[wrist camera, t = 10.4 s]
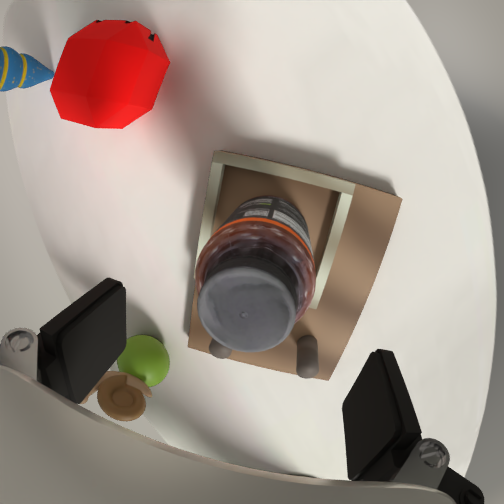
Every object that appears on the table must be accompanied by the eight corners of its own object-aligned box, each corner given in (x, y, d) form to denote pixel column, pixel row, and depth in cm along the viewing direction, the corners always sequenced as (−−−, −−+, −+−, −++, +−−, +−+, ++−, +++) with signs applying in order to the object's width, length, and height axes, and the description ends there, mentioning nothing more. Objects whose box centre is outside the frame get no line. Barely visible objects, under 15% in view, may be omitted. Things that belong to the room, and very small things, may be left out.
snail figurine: (125, 313, 28) (58, 387, 17) (180, 337, 28) (129, 427, 17) (122, 348, 30) (68, 420, 19) (173, 371, 30) (129, 455, 19)
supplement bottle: (256, 283, 23) (225, 386, 13) (214, 219, 22) (143, 287, 12) (323, 247, 22) (344, 339, 11) (282, 177, 20) (267, 211, 10)
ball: (189, 46, 19) (146, 12, 12) (155, 135, 22) (99, 134, 14) (115, 36, 19) (62, 14, 12) (86, 115, 22) (26, 114, 14)
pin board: (327, 372, 27) (330, 407, 23) (191, 339, 28) (174, 371, 23) (397, 196, 20) (421, 209, 16) (221, 150, 21) (201, 151, 17)
